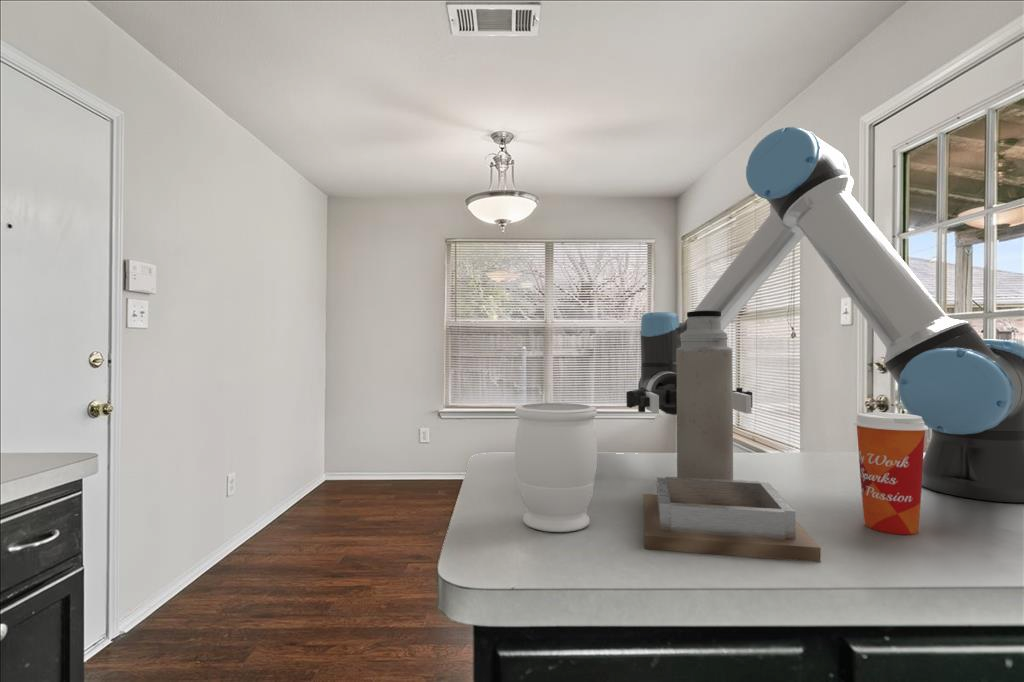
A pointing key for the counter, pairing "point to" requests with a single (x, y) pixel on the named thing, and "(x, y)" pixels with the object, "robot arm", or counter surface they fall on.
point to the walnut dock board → (725, 539)
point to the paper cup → (891, 470)
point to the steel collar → (724, 508)
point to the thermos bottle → (704, 399)
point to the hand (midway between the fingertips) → (702, 404)
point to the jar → (556, 464)
